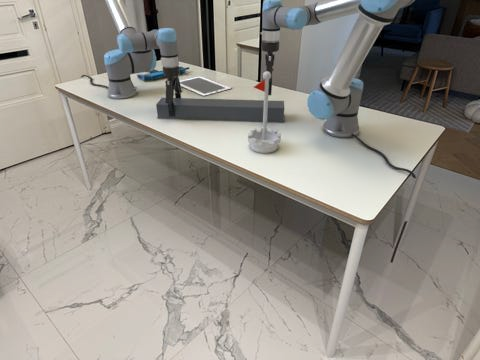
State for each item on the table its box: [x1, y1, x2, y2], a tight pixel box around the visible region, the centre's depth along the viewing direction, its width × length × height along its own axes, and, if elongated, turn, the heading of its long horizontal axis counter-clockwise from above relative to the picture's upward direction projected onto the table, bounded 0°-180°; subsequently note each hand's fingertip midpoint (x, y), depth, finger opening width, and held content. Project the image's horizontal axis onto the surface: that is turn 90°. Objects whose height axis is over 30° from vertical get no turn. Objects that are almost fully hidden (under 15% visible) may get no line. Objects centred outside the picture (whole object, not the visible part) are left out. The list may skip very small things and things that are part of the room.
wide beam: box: [155, 97, 285, 123], centre depth 162 cm, size 60×10×7 cm, turn 85°
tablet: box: [179, 75, 232, 97], centre depth 203 cm, size 32×20×1 cm, turn 41°
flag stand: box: [247, 71, 282, 154], centre depth 129 cm, size 13×13×30 cm
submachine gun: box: [136, 66, 190, 82], centre depth 223 cm, size 34×4×25 cm
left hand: (175, 110), depth 164 cm, fingers open, 13 cm apart
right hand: (268, 90), depth 155 cm, fingers open, 13 cm apart
